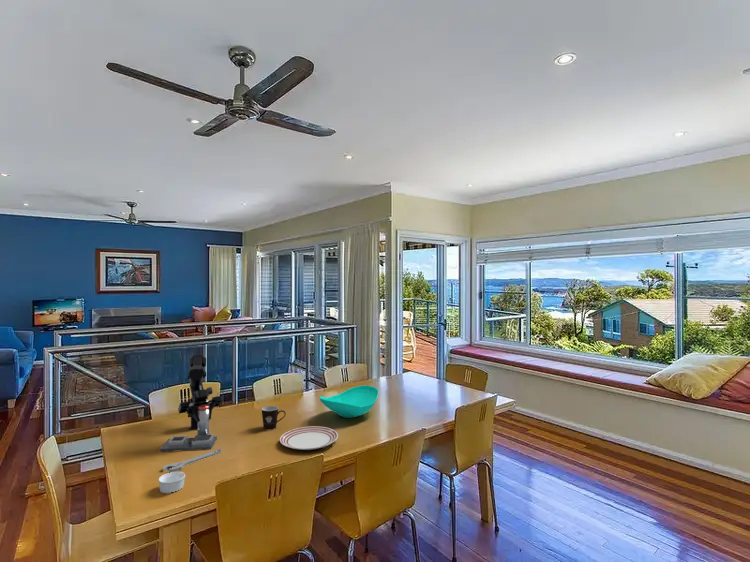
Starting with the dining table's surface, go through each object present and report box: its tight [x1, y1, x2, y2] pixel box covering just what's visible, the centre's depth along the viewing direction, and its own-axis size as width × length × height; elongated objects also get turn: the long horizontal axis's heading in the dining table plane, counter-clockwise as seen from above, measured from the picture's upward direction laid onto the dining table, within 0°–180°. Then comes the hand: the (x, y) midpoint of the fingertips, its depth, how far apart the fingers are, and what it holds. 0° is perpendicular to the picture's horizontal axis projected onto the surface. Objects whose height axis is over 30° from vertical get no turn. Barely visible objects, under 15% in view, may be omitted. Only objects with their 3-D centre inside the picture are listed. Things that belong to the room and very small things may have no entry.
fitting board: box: [159, 433, 218, 452], centre depth 191 cm, size 12×22×3 cm, turn 99°
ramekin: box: [158, 471, 186, 494], centre depth 151 cm, size 9×9×4 cm
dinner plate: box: [279, 425, 339, 451], centre depth 195 cm, size 27×27×3 cm
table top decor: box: [319, 385, 380, 419], centre depth 235 cm, size 40×28×13 cm
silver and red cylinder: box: [196, 404, 210, 436], centre depth 192 cm, size 5×5×13 cm
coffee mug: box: [261, 405, 286, 430], centre depth 214 cm, size 12×9×10 cm
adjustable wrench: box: [162, 449, 223, 473], centre depth 173 cm, size 25×6×2 cm, turn 139°
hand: (204, 420), depth 191 cm, fingers closed on silver and red cylinder, 5 cm apart
